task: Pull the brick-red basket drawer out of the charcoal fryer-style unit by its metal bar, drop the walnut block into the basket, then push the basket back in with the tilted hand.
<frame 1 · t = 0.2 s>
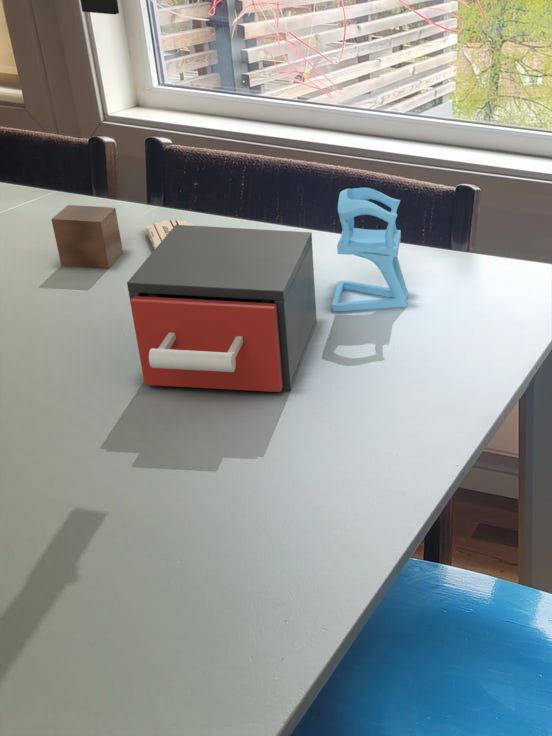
hand: (140, 2, 83), 30 cm above the table, tool pointing down, fingers open, 13 cm apart
walnut block: (93, 262, 119), on the table
basket: (219, 326, 93), point 5 cm above the table, slide at 0.5 cm
air fryer: (236, 354, 100), on the table
chair: (371, 303, 113), on the table
newspaper: (190, 266, 120), on the table
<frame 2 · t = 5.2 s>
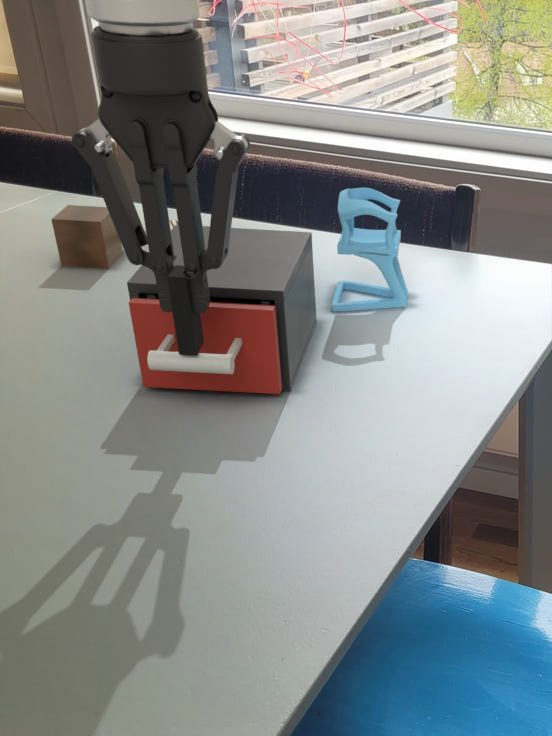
hand: (191, 348, 84), 7 cm above the table, tool pointing down, fingers closed
basket: (218, 328, 93), point 5 cm above the table, slide at 0.9 cm, touching gripper
everything else where it was.
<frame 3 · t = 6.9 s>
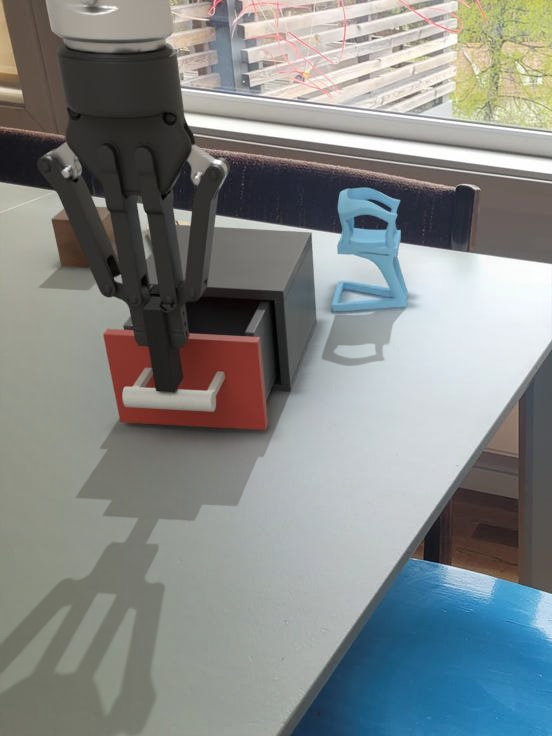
hand: (169, 384, 79), 7 cm above the table, tool pointing down, fingers closed
basket: (200, 359, 87), point 5 cm above the table, slide at 8.0 cm, touching gripper
everything else where it was.
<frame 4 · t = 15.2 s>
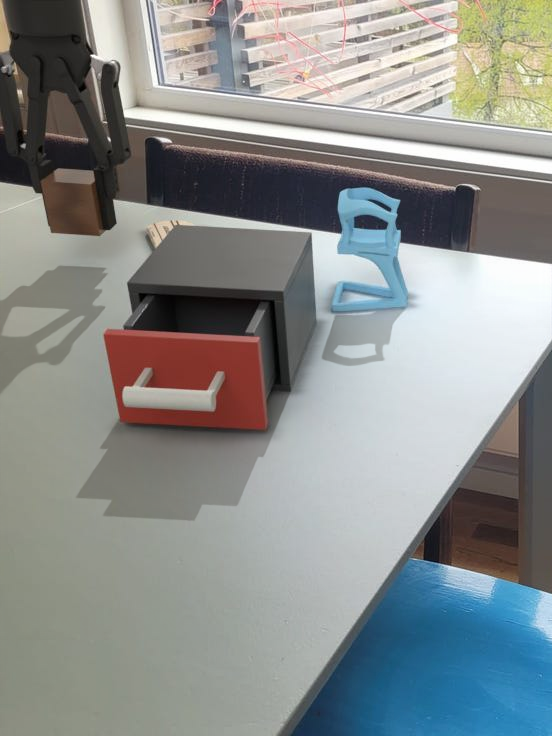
hand: (82, 224, 116), 4 cm above the table, tool pointing down, fingers closed on walnut block, 6 cm apart
walnut block: (83, 227, 116), point 4 cm above the table, touching gripper
basket: (200, 359, 87), point 5 cm above the table, slide at 8.0 cm
everything else where it was.
when the fingers open (9 cm above the table, at t = 20.5 s): walnut block drops 4 cm and tips over, resting on basket.
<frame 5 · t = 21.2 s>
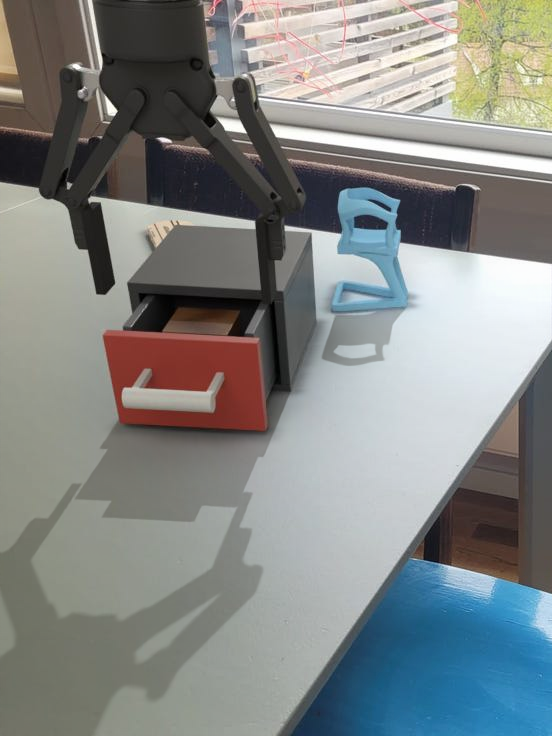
hand: (188, 294, 83), 11 cm above the table, tool pointing down, fingers open, 13 cm apart
walnut block: (198, 364, 87), point 5 cm above the table, tilted 90°, touching basket
basket: (200, 360, 87), point 5 cm above the table, slide at 8.2 cm, touching walnut block
everything else where it was.
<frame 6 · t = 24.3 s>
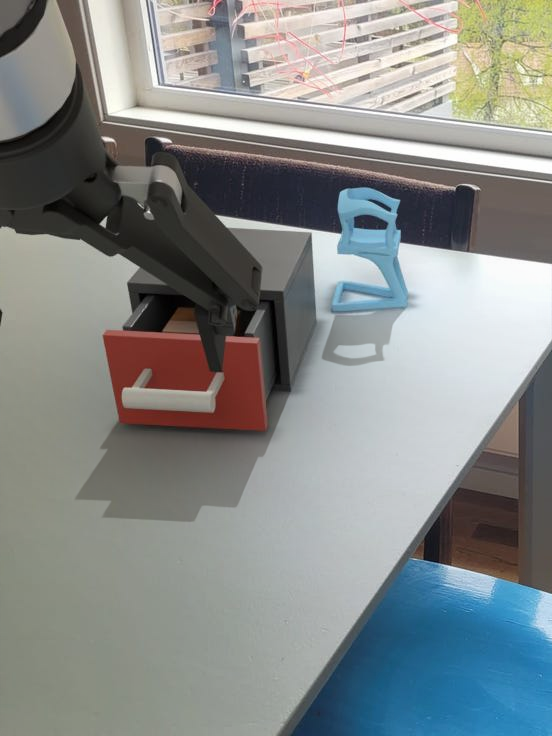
hand: (107, 342, 62), 16 cm above the table, tool tilted 35°, fingers open, 13 cm apart
nothing on the table moved.
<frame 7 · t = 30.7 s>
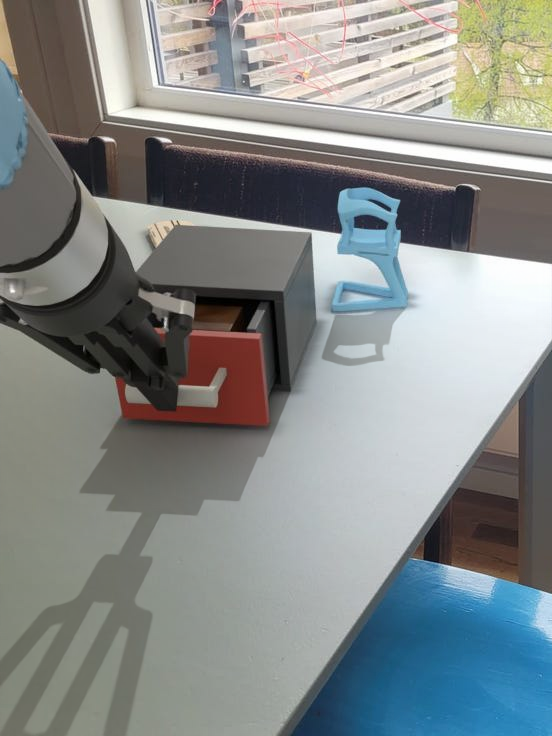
hand: (168, 394, 79), 6 cm above the table, tool tilted 45°, fingers closed
basket: (202, 356, 88), point 5 cm above the table, slide at 7.3 cm, touching gripper, walnut block
everything else where it was.
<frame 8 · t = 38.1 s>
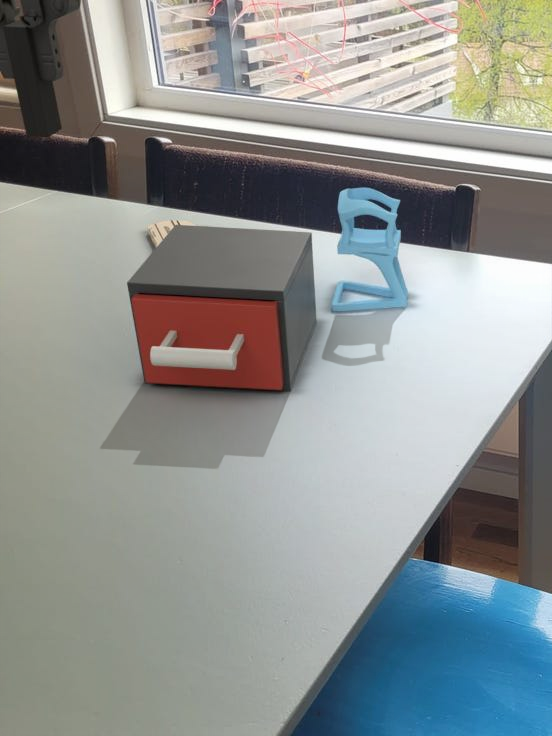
hand: (44, 132, 69), 24 cm above the table, tool pointing down, fingers closed
walnut block: (219, 327, 93), point 5 cm above the table, tilted 90°, touching basket
basket: (220, 325, 94), point 5 cm above the table, slide at 0.0 cm, touching walnut block
everything else where it was.
at the end: basket pulled out 8.2 cm at the most during the clip, back to where it started at the end; walnut block inside the target area in the air fryer (5.5 cm from its centre), point 4.9 cm above the air fryer's base; basket slide at 0.0 cm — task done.
